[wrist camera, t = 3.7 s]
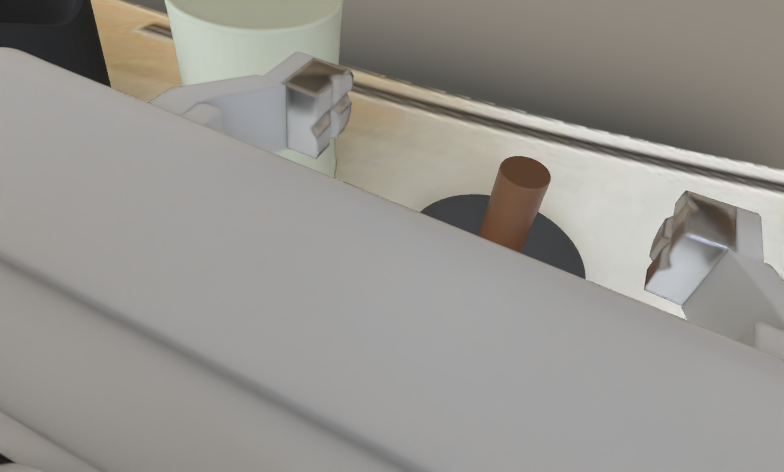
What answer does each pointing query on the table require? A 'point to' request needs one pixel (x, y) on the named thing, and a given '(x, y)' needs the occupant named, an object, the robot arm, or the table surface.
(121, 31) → the table surface
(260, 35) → the can
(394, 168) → the table surface
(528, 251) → the lid
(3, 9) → the pen holder
